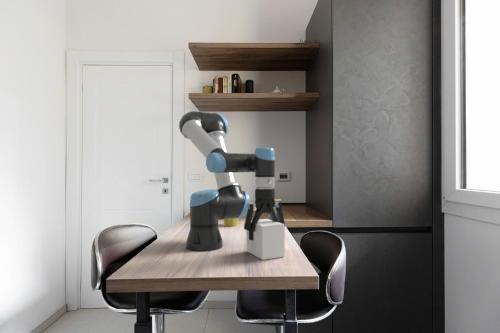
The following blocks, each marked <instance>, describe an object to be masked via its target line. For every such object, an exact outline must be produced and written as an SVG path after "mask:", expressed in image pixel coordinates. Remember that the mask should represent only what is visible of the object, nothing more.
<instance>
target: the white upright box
mask: <svg viewBox="0 0 500 333" xmlns="http://www.w3.org/2000/svg"><path fill="white" fill-rule="evenodd" d="M251 222H252V221H251ZM285 228H286V223H285V224H282V223H279V222H274V221H272V220H269V219H268V218H263V219H262V218H261V219H260V218H259V220H258V223H257V224H256V227H255V229H254V231H255V232H256V249H255V250H254V249H252V248H251V240H249V231H248V230H246V252H248V253H250V254H251V255H253V256H255V257H256V258H258V259H261V260H262V261H265V260H271V259H279V258H284V257H285V256H286V255H285V254H286V253H285V242H286V241H285V239H286V238H285V236H286V235H285Z"/></svg>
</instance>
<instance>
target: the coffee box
mask: <svg viewBox="0 0 500 333" xmlns="http://www.w3.org/2000/svg"><path fill="white" fill-rule="evenodd" d="M274 200H275V202H281V203H282V199H281V198H274ZM273 209H274V211H275V215H276V217H277V219H278V216H277V212H276V207H275V206H274V207H273ZM267 216H268V218H267V219H269V220H272V219H271V217H270V214H269V213H267Z"/></svg>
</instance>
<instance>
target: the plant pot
mask: <svg viewBox="0 0 500 333" xmlns="http://www.w3.org/2000/svg"><path fill="white" fill-rule="evenodd" d="M238 220H239V218H232V219H223V222H224V226H225V227H226V226H227V228H228V227H229V228H232V227H233V228H234V227H237V226H238V222H239V221H238Z"/></svg>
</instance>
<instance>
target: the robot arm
mask: <svg viewBox="0 0 500 333" xmlns="http://www.w3.org/2000/svg"><path fill="white" fill-rule="evenodd" d="M178 127H179V128H178V129H179V131H180V133H181V135H182V136H183V137H184V138H185V139H188V140H190V142H191V143H192V144H193V145H194V146H195V147H196V149H197V150H198V151H199V152H200V153H201V154H202V156H203V157H204V158H205V165H206V166H205V167H206V169H207V171H208V172H210V173H213V175H214V177H215V178H214V179H215V182H216V186H217V189H204V190H198V191H195V192H193V193H192V194H191V195H190V199H189V200H190V201H189V216H190V217H189V220H190V221H189V222H190V223H189V225H190V226H189V227H190V228H189V232H188V234H187V238H186V242H185V248H186V249H187V250H190V251H198V252H205V251H209V252H210V251H213V250H219V249H221V248H223V241H224V240H223V237H222V236H221V232H220V229H219V221H220V220H224V219H232V218H238V219H239V218H243V217H245V216H246V218H245V222H244V226H243V229H244V230H245V231H247V230H248V231H249V240H251V248H252V249H254V250H255V249H256V232H255V231H254V229H255V227H256V224H257V223H258V220H260V218H261V216H262V215H263V214H265V213H267V214H268V213H269V214H270V217H271V219H272V221H274V222H279V223H282V224H285V225H286V223H285V218H284V213H283V208H282V207H283V203H282V201H281V202H275V200H274V199H276V190H275V186H276V185H275V184H276V183H275V182H276V181H275V180H276V179H275V178H276V176H275V175H276V174H275V173H276V172H275V170H276V169H275V168H276V164H275V163H276V157H275V153H276V152H275V148H273V147H256V148H255V150H254V153H237V152H236V153H233V152H228V150H227V145H226V141H225V139H226V137H227V134H228V132H229V123H228V120H227V118H226V116H225V115H223V114H221V113H216V112H206V111H197V110H196V111H195V110H192V111H188V112H186V113H185V114H183V115H182V116H181V119H180V120H179V124H178ZM235 173H254V187H255V190H254V198H255V199H254V200H255V201H254V202H252V203H251V197H250V195H249V193H248V192H247V191H244V190H243V189H242V186H241V185H240V184H239V183H237V181H236V179H235V178H236V177H235ZM274 206H275V207H276V212H277V216H278V219H277V217H276V215H275V211H274V209H273V207H274ZM255 209H256V210H255ZM254 211H255V212H254ZM251 221H252V222H251Z"/></svg>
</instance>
